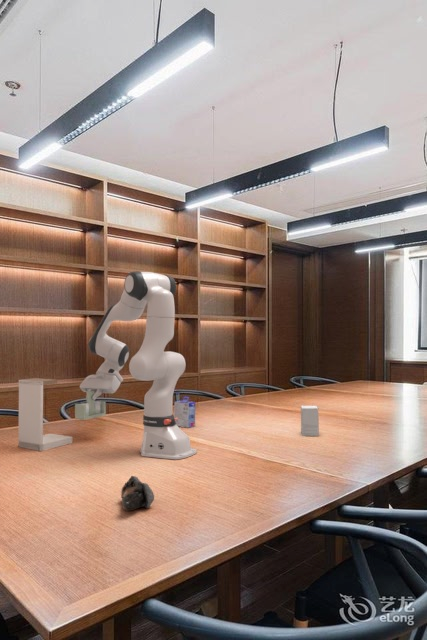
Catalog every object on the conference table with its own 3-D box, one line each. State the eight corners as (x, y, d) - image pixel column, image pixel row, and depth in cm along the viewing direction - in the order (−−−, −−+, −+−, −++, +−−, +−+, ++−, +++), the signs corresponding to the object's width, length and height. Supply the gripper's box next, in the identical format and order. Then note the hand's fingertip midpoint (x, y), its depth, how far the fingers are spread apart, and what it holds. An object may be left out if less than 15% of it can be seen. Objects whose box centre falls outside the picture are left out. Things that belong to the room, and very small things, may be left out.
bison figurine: (133, 497, 132) (102, 504, 125) (134, 472, 132) (103, 478, 125) (158, 509, 123) (126, 517, 116) (159, 482, 123) (127, 489, 116)
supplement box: (317, 432, 213) (316, 405, 214) (319, 436, 206) (318, 408, 206) (300, 432, 214) (300, 405, 214) (302, 436, 207) (301, 407, 207)
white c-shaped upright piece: (72, 442, 196) (72, 378, 197) (40, 451, 183) (40, 381, 183) (50, 439, 204) (51, 376, 204) (18, 446, 190) (18, 379, 191)
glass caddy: (105, 415, 205) (105, 390, 206) (84, 419, 195) (84, 393, 196) (96, 414, 208) (95, 389, 209) (75, 418, 198) (74, 392, 199)
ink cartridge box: (196, 426, 230) (195, 397, 230) (188, 428, 225) (188, 398, 226) (181, 424, 236) (180, 395, 236) (173, 425, 231) (173, 396, 232)
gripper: (86, 369, 214) (70, 393, 206) (118, 370, 203) (102, 395, 195) (94, 378, 218) (78, 402, 209) (126, 379, 207) (110, 404, 198)
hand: (90, 398), depth 202 cm, fingers closed on glass caddy
